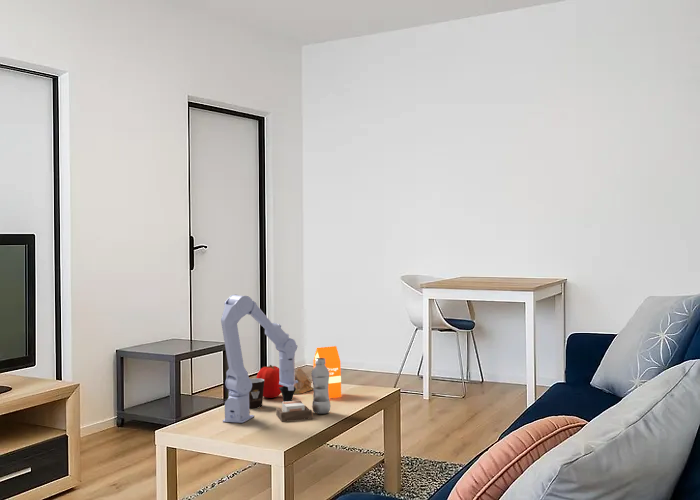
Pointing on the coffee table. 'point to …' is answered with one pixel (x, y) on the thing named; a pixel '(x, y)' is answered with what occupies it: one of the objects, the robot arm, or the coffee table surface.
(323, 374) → the plastic bottle
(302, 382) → the ceramic model
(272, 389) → the red bell pepper
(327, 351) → the orange juice
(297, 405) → the carton
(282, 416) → the display stand
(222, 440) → the coffee table surface
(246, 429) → the coffee table surface
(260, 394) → the coffee mug
